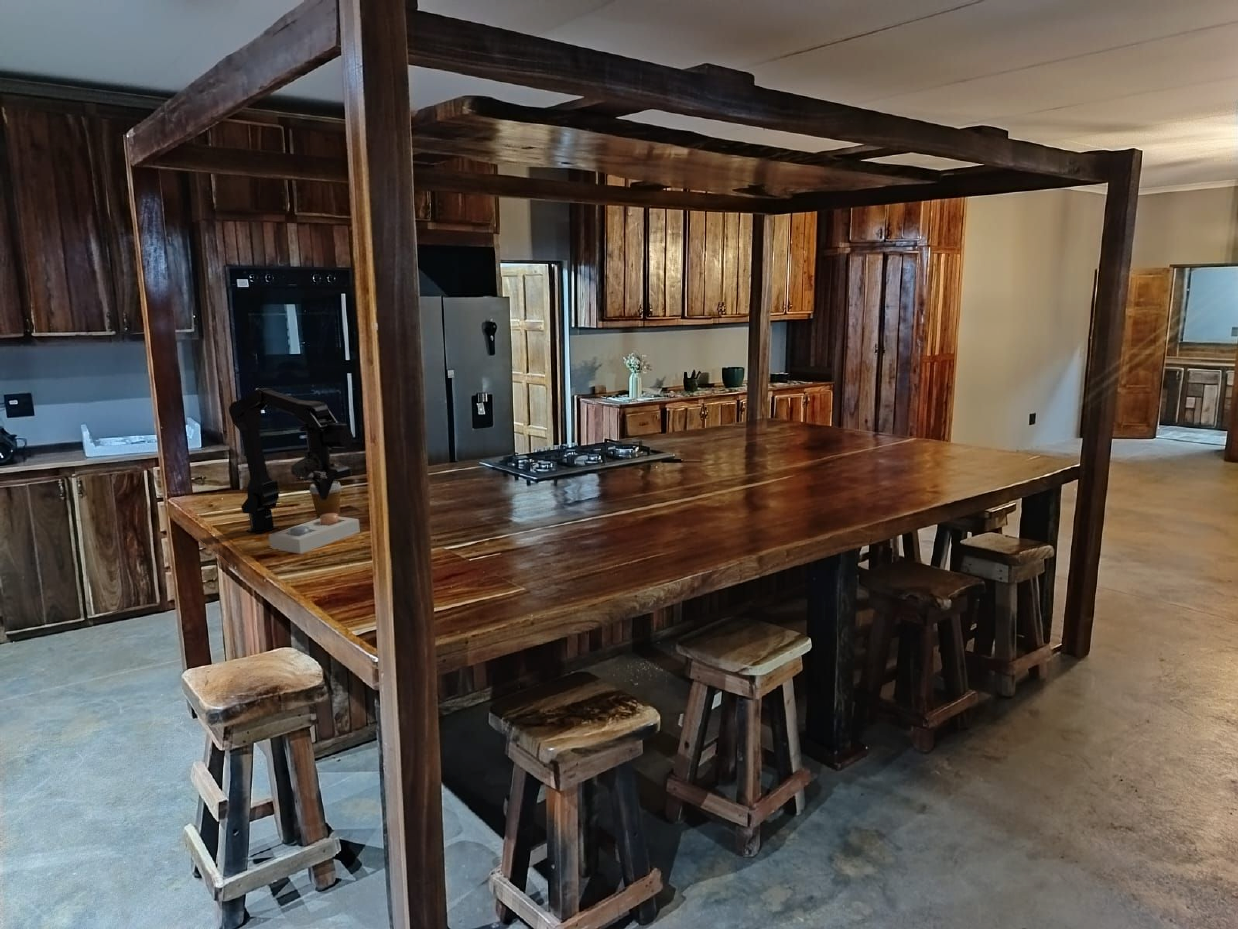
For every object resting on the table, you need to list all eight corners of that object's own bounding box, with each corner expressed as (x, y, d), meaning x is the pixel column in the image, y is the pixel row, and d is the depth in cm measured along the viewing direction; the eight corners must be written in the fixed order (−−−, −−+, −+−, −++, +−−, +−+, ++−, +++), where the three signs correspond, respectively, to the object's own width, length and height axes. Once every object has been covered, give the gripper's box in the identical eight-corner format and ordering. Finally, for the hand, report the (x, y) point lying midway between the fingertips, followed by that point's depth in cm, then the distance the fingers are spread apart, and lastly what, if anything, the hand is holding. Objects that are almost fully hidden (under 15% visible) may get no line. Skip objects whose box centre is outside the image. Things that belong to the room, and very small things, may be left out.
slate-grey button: (287, 540, 235) (285, 530, 234) (301, 535, 239) (300, 525, 238) (299, 542, 232) (298, 532, 232) (313, 537, 237) (312, 527, 236)
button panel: (270, 548, 234) (268, 534, 233) (330, 527, 253) (329, 515, 252) (300, 553, 229) (299, 539, 228) (359, 532, 248) (358, 519, 247)
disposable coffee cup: (311, 527, 255) (307, 489, 252) (313, 519, 263) (309, 482, 261) (344, 524, 257) (340, 486, 255) (345, 516, 266) (341, 479, 264)
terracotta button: (317, 526, 244) (316, 516, 243) (330, 522, 248) (329, 512, 248) (329, 528, 242) (328, 518, 241) (342, 523, 246) (341, 514, 245)
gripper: (272, 449, 237) (279, 503, 240) (318, 454, 228) (324, 509, 231) (304, 442, 246) (310, 494, 249) (350, 447, 237) (355, 500, 240)
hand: (324, 499), depth 242 cm, fingers closed
